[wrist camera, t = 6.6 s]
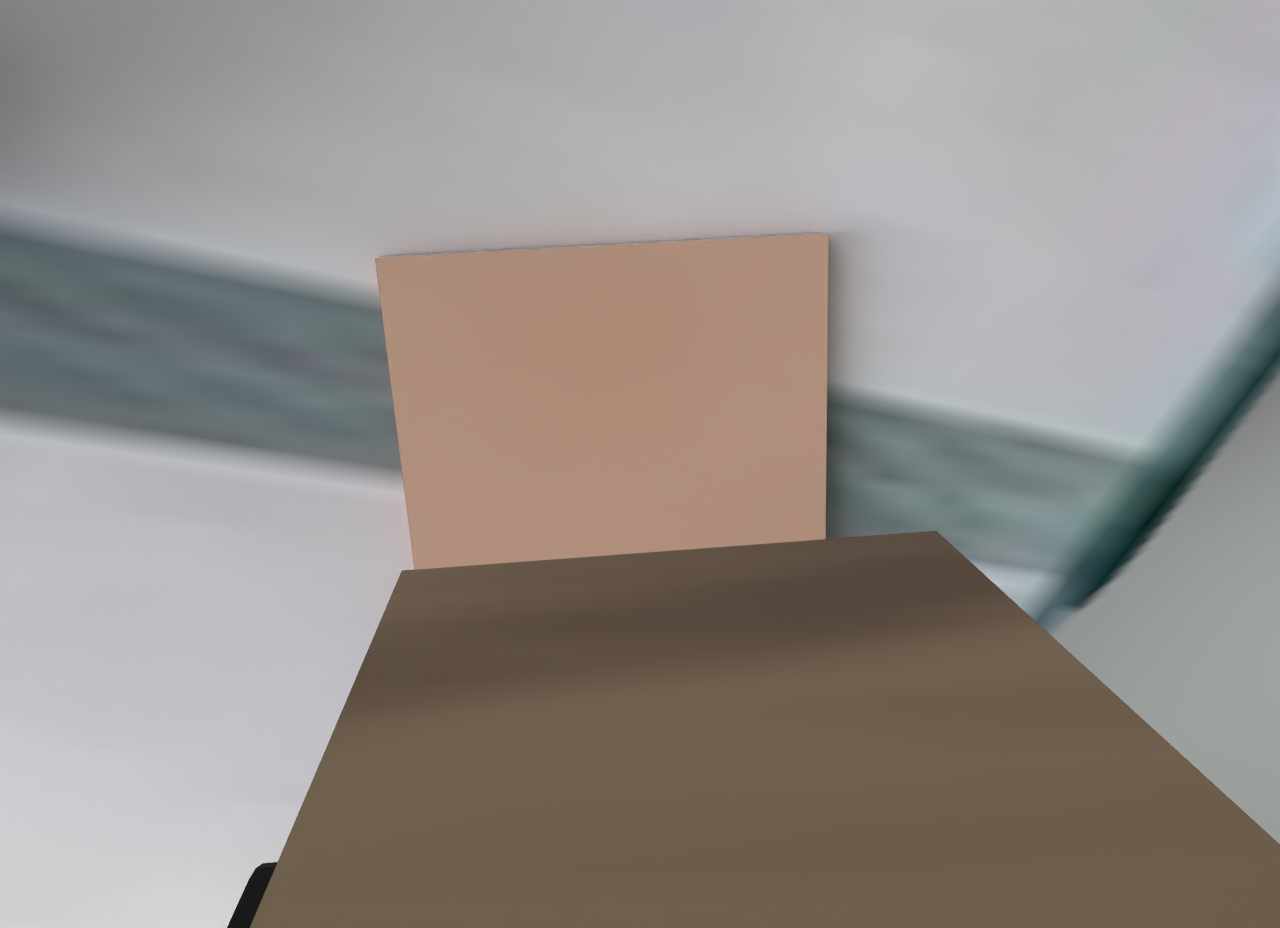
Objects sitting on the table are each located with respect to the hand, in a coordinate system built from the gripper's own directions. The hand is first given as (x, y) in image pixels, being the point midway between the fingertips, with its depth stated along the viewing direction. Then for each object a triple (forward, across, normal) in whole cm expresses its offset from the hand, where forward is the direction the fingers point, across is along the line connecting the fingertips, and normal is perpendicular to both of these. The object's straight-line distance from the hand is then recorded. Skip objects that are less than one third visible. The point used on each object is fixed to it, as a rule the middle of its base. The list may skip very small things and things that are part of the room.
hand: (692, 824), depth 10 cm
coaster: (+15, 0, 0) cm, 15 cm away
